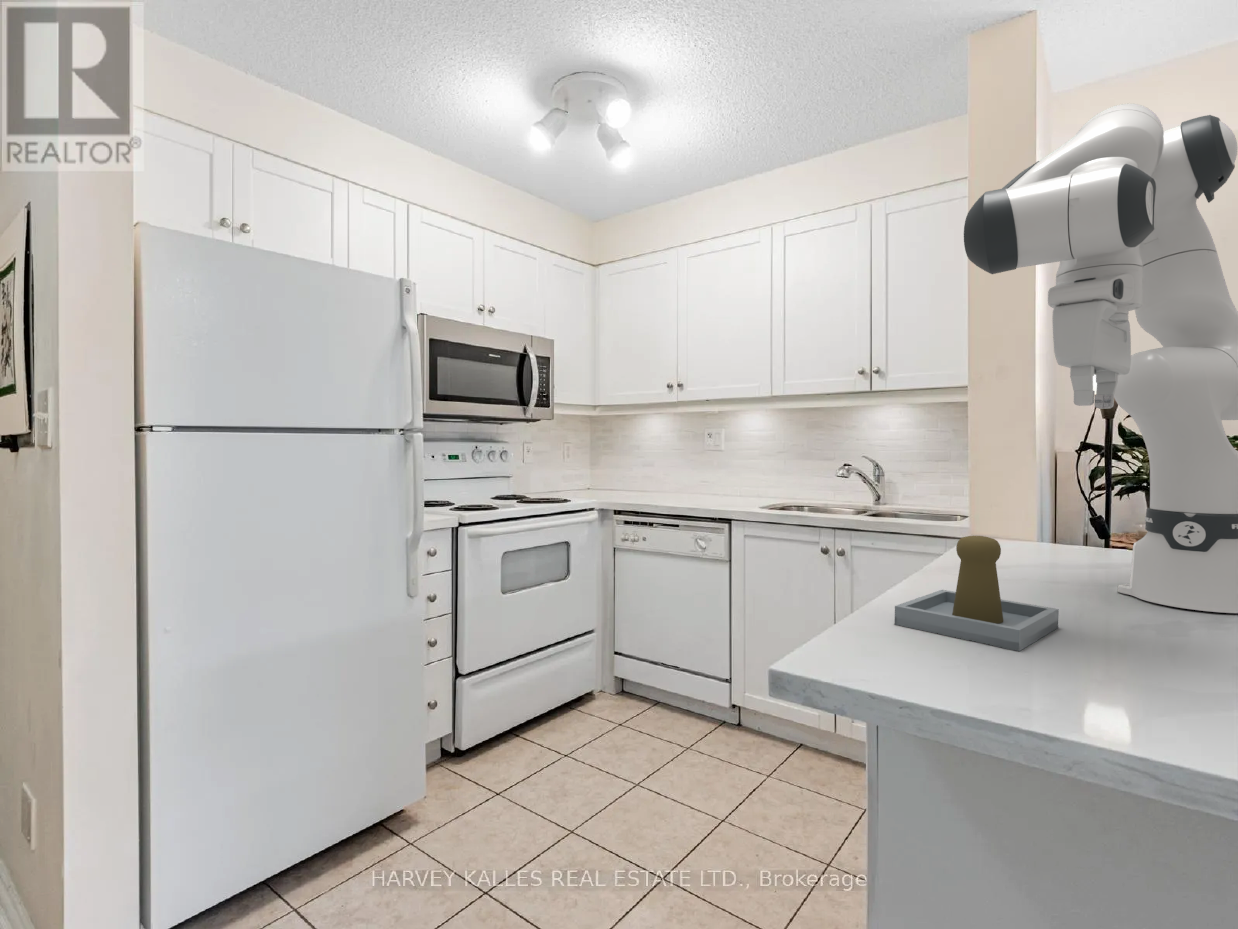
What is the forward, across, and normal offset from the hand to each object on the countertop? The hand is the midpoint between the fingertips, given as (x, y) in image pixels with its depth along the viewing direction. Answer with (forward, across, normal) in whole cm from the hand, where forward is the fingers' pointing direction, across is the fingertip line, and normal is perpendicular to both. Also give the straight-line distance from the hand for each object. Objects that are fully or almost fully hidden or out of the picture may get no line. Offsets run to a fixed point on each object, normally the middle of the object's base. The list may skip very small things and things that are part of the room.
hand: (1094, 407), depth 82 cm
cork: (+28, +7, -11) cm, 31 cm away
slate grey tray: (+29, +7, -11) cm, 32 cm away
